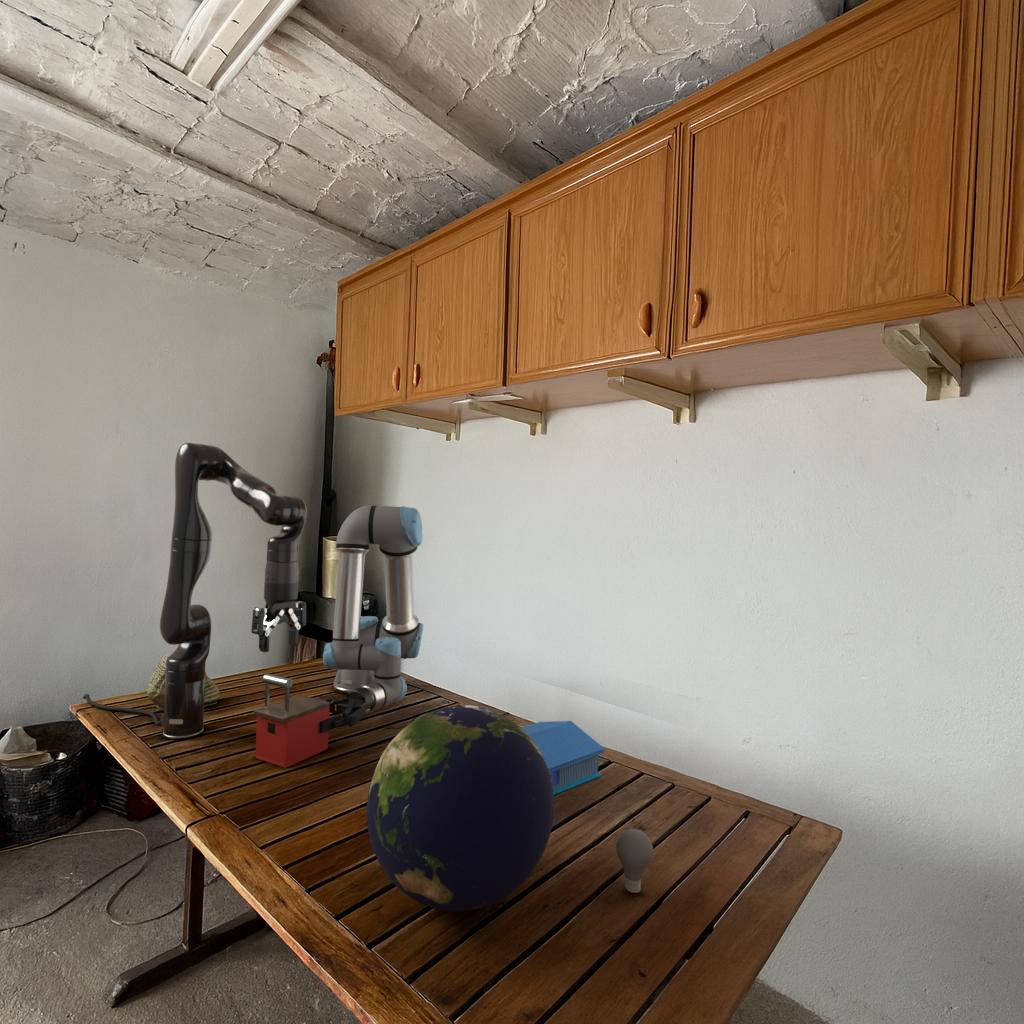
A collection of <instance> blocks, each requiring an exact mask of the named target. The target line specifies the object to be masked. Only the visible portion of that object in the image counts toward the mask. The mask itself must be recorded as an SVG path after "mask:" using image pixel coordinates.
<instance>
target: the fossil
mask: <svg viewBox="0 0 1024 1024" xmlns="http://www.w3.org/2000/svg"><path fill="white" fill-rule="evenodd" d="M170 655H171V654H165V655H164V656H163V657H162V658H161V659H160V660H159V662H158V663H157V666H156V667H155V669H154V670H153V672H152V675H151V677H150V680H149V684H148V688H147V697H148V699H149V700H150V701H152V703H153V704H154V706H155V711H158V712H159V711H162V712H163V711H164V705H165V674H166V660H167V658H168V657H169V656H170ZM220 698H221V696H220V690H219V688H218V686H217V685H216V683H215V682H214V681H213V679H212V678H211V677H209V675H208V674H207V672H206V671H205V693H204V707H207V706H213V705H215V704H217V703H218V701H219V699H220Z"/></svg>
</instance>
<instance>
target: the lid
mask: <svg viewBox="0 0 1024 1024" xmlns="http://www.w3.org/2000/svg"><path fill="white" fill-rule="evenodd" d="M262 682H263V683H264V684H265V689H264V690H265V691H264V692H265V694H264V706H263V707H259V708H257V709H256V708H255V709H254V710H253V715H254V716H256V717H257V716H260V717H264V718H267V719H271V720H274V721H278V722H281V723H286V722H289V721H291V720H294V719H297V718H299V717H302V716H305V715H307V714H310V713H313V712H315V711H318V710H321V709H323V708H326V707H329V702H327V701H323V700H322V699H319V698H316V697H311V696H306V695H303V694H298V695H296V696H293V697H290V690H291V688H292V687H293V685H294V682H293V679H292V678H288V677H283V676H279V675H275V674H270V673H265V674H264V675H263V678H262ZM271 685H272V686H275V687H279V688H283V689H284V690H285V691H284V696H285V697H284V700H280V701H278V702H275V703H272V704H270V691H271V689H270V688H271V687H270V686H271Z"/></svg>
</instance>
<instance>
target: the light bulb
mask: <svg viewBox="0 0 1024 1024" xmlns="http://www.w3.org/2000/svg"><path fill="white" fill-rule="evenodd" d="M615 849H616V854H617V857H618V859H619V861H620V863H621V865H622V867H623V873H624V874H623V875H624V876H625V878H624V888H625V890H627V891H628V892H630V893H634V894H635V893H639V892H640V891H641V889H642V887H641V886H642V879H643V877H644V875H645V871H646V868H647V867H648V866H649V864H650V863H651V861H652V859H653V855H654V847H653V843H652V841H651V838H649V836H648V835H647V834H646V833H645V832H643V831H642V830H641V829H636V828H629V829H627V830H625V831H623V832H622V833H621V834H620V835H619V837H618V839H617V841H616V847H615Z"/></svg>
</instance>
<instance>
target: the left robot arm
mask: <svg viewBox="0 0 1024 1024" xmlns="http://www.w3.org/2000/svg"><path fill="white" fill-rule="evenodd" d="M199 481H206V482H207V481H208V482H210V481H215V482H219V483H222V484H224V485H227V486H228V487H229V490H230V492H231V494H232V495H233V497H234V498H235V499H236V500H238V501H239V502H240V503H242V504H244V505H246V506H247V507H249V508H250V509H252V510H253V511H254V513H255V514H256V515H257V516H258V518H259V519H260V520H261V521H262V522H263V523H265V524H267V525H270V526H276V527H277V526H279V527H280V526H281V528H280V530H279V533H277V534H276V535H273V536H270V537H269V538H268V540H267V543H266V560H265V561H266V562H265V568H264V586H263V587H264V588H263V599H264V601H265V606H264V607H257V606H256V607H254V608H253V609H252V619H251V631H250V633H252V634H254V635H258V649H259V651H260V652H262V653H269V651H270V635H271V632H272V631H273V629H275V628H276V626H277V625H280V624H282V623H286V624H287V625H288V627H289V629H288V645H289V646H293V647H294V646H297V645H298V643H299V638H300V637H299V632H300V629H301V628H302V627H306V625H307V603H306V601H302V600H298V598H299V571H300V570H299V544H300V541H301V538H302V535H303V531H304V528H305V525H306V522H307V518H308V517H307V516H308V509H307V505H306V503H305V501H304V500H303V499H302V498H301V497H300V496H296V495H278V493H277V491H276V489H275V488H274V487H273V486H272V485H270V484H269V483H267V482H266V481H264V480H262V479H260V478H259V477H257V476H255V475H253V474H252V473H250V472H249V471H247V470H246V469H245V468H243V466H241V465H239V463H238V462H237V461H235V460H234V459H233V458H232V457H231V456H230V455H229V454H228V453H227V452H225V451H224V450H223V449H222V448H220V447H219V446H216V445H211V444H204V443H195V442H185V443H183V444H182V445H180V446H179V448H178V450H177V453H176V456H175V463H174V498H175V499H174V513H173V524H172V533H171V539H170V540H171V543H170V555H169V567H168V574H167V583H166V588H165V594H164V600H163V603H162V608H161V614H160V618H159V631H160V635H161V637H162V639H163V641H164V642H165V643H167V644H168V645H172V646H176V645H178V646H176V648H175V650H174V651H173V652H172V653H170V654H169V655H170V656H169V657H168V658H167V660H166V674H165V705H164V710H163V713H161V714H160V720H159V718H158V716H157V714H156V713H154V712H152V711H149V710H145V709H144V710H143V709H138V708H130V707H121V706H111V705H105V704H100V703H99V702H95V701H93V700H92V699H91V697H90V695H89V694H88V693H85V694H84V695H83V697H82V699H83V700H85V701H86V702H87V704H89V705H91V706H93V707H95V708H98V709H101V710H107V711H114V712H125V713H132V714H133V713H134V714H139V715H146V716H149V717H151V718H152V720H153V722H154V724H155V725H157V726H160V725H161V726H162V727H163V731H162V737H164V738H166V739H169V740H185V739H190V738H191V739H192V738H194V737H197V736H199V735H202V734H203V732H204V730H205V729H204V722H205V721H204V718H205V706H204V693H205V672H206V664H207V663H206V662H207V659H208V657H209V654H210V649H211V648H210V647H211V639H212V617H211V614H210V612H209V610H208V609H207V608H206V607H205V606H204V605H201V604H196V603H195V604H192V597H193V592H194V589H195V587H196V585H197V583H198V581H199V579H200V578H201V576H202V574H203V573H204V570H205V569H206V567H207V565H208V562H209V560H210V558H211V557H210V556H211V552H212V541H213V529H212V526H211V524H210V522H209V520H208V518H207V516H206V514H205V512H204V510H203V508H202V506H201V503H200V499H199Z"/></svg>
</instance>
